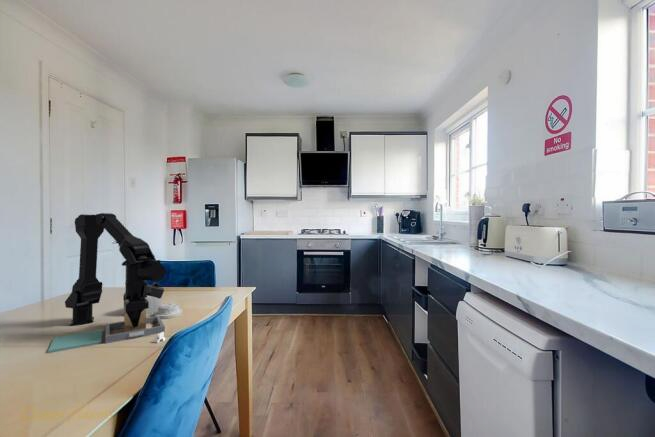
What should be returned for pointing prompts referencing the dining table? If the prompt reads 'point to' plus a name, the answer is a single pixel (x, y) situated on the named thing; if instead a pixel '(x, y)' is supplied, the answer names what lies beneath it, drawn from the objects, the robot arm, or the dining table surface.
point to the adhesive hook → (159, 337)
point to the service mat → (75, 341)
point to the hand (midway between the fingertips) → (135, 325)
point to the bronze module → (128, 324)
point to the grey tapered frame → (133, 333)
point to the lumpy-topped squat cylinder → (152, 304)
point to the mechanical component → (168, 310)
